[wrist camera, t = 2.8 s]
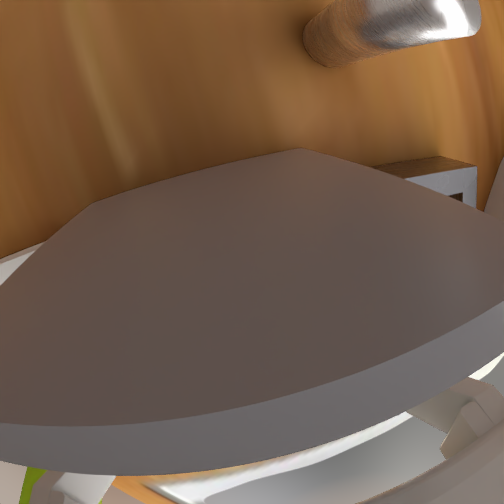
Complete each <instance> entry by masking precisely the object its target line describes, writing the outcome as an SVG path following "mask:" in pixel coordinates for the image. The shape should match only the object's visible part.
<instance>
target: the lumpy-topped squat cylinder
mask: <svg viewBox="0 0 504 504" xmlns="http://www.w3.org/2000/svg"><path fill="white" fill-rule="evenodd" d="M484 212H485V213H487V214H489V215H491V216H493V217H495V218H497V219H499V220H501V221H503V222H504V157H503V159H502V161H501V164H500V166H499V169H498V172H497V174H496V177H495V180H494V183H493V186H492V189H491V191H490V194H489V197H488V200H487V203H486V206H485V209H484Z"/></svg>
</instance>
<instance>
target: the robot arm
mask: <svg viewBox="0 0 504 504" xmlns="http://www.w3.org/2000/svg"><path fill="white" fill-rule="evenodd" d="M406 412H407V413H409V414H411V415H413V416H414V417H416V418H418V419H420V420H422V421H424V422H426V423H428V424H429V425H431V426H433V427H435V428H437V429H439V430H441V431H443V432H445V433H447V435H446V437H445V439H444V441H443V442H442V444H441V446H440V450H441V452H442V454H443V455H444V457H445V459H446V460H445V461H443V462H442V463H440V464H438V465H437V466H435V467H433V468H431V469H429V470H428V471H426V472H424V473H422V474H420V475H419V476H417V477H415V478H413V479H411V480H409V481H407V482H405V483H403V484H401V485H399V486H396V487H394V488H392V489H390V490H388V491H386V492H383V493H381V494H379V495H377V496H374V497H372V498H369V499H367V500H364V501H362V502H359V503H356V504H504V397H503V396H502V395H501V394H500V392H499V391H498V390H497V389H496V388H495V387H494V386H493V385H491V384H488V383H485V382H481V381H479V380H475V379H472V378H469V377H466V378H465V379H463V380H462V381H460V382H458V383H457V384H455V385H453V386H452V387H450V388H448V389H447V390H445V391H443V392H441V393H439V394H438V395H436V396H434V397H432V398H430V399H429V400H427V401H425V402H423V403H421V404H419V405H417V406H415V407H413V408H411V409H409V410H407V411H406ZM115 477H116V476H112V475H91V474H78V473H68V472H59V471H52V470H47V471H46V472H45V473H44V474H43V475H42V476H41V478H40V479H39V480H38V481H37V482H36V483H35V484H34V485H33V488H32V492H31V497H30V501H29V504H98V503H99V502H100V500H101V499H102V497H103V495H104V494H105V492H106V491H107V489H108V488H109V486H110V485H111V483H112V482H113V480H114V479H115Z"/></svg>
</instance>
